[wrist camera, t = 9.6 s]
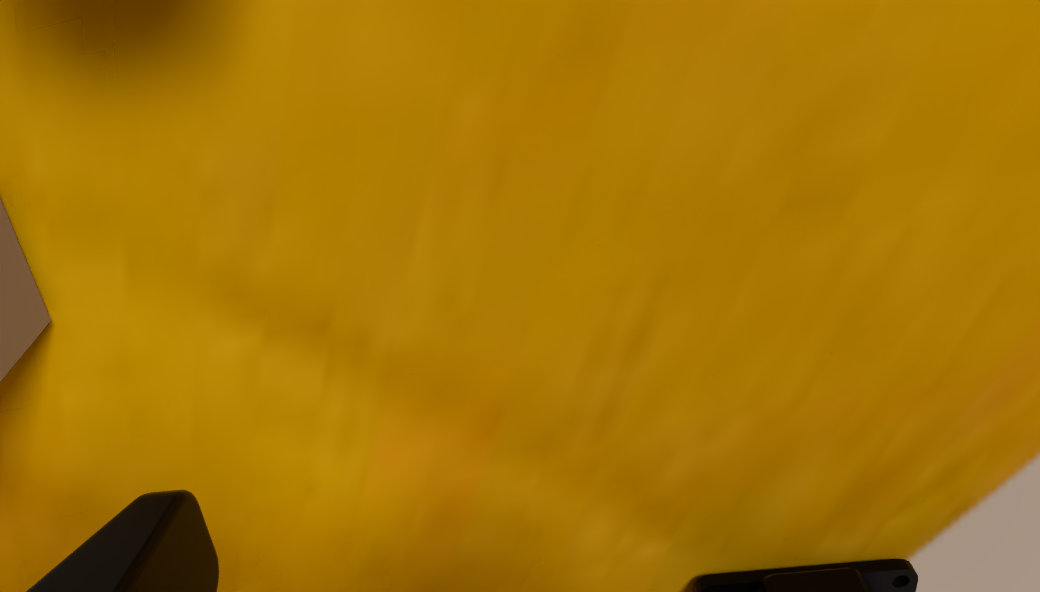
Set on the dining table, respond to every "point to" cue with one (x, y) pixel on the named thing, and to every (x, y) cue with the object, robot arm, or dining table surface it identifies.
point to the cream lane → (17, 299)
